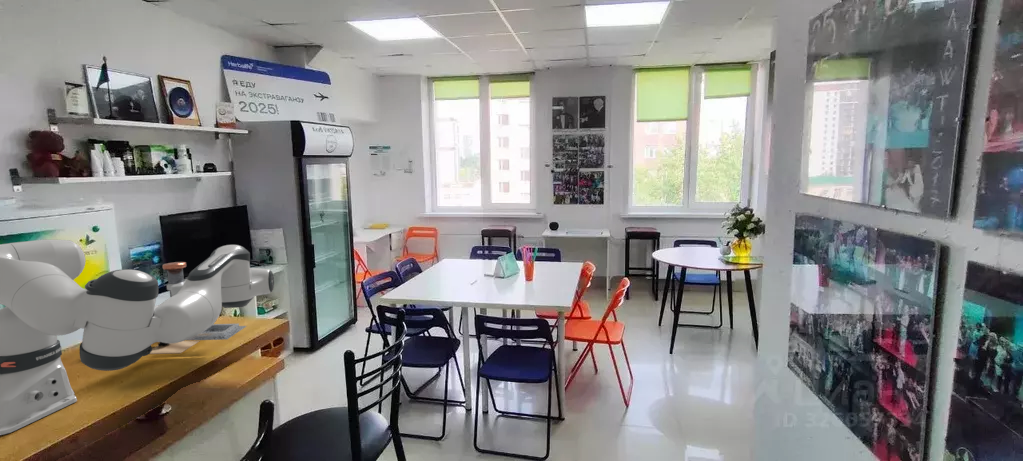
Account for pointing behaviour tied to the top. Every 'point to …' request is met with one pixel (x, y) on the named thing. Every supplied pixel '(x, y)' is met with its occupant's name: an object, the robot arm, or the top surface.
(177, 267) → the copper capped grey cylinder
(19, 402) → the robot arm
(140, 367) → the top surface
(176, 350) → the cork pad
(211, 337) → the grey square base
